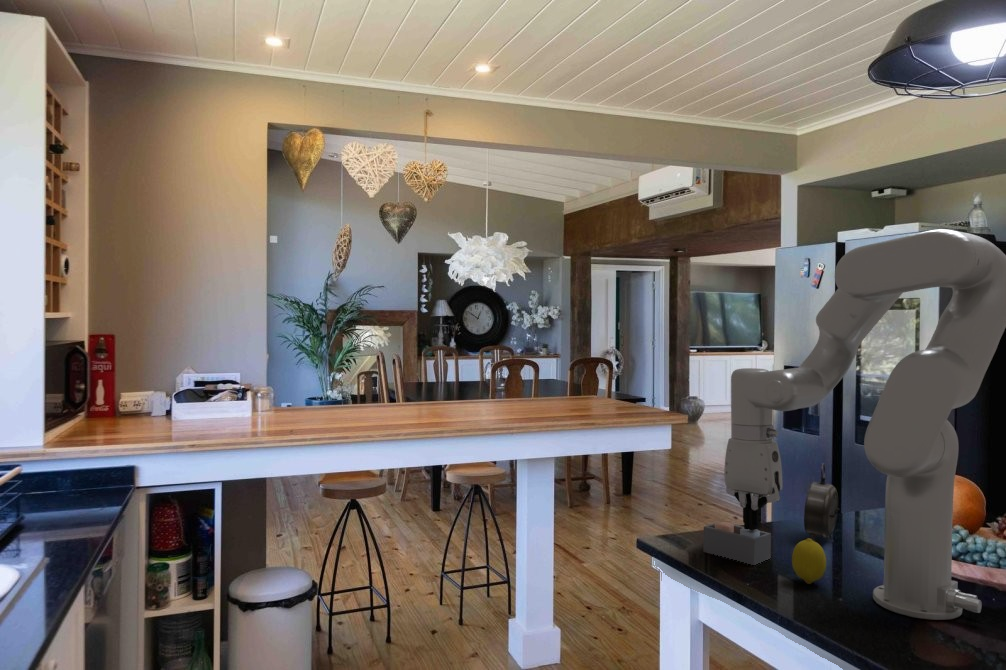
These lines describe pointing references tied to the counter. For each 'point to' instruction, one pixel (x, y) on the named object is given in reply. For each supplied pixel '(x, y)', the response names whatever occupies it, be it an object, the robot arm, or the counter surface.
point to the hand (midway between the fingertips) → (752, 528)
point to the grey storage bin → (737, 545)
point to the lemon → (809, 560)
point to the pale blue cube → (750, 533)
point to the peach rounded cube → (725, 526)
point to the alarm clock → (821, 509)
